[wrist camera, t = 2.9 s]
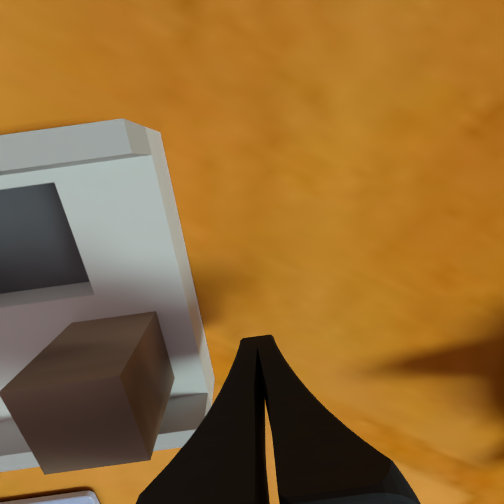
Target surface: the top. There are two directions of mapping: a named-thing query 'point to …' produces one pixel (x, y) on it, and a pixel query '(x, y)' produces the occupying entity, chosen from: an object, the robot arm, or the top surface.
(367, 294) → the top surface
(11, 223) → the tray
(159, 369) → the walnut block
